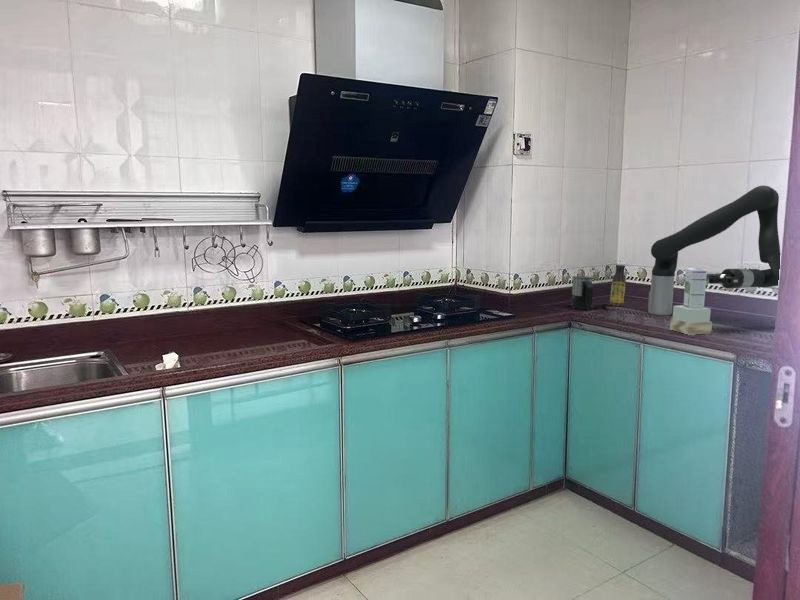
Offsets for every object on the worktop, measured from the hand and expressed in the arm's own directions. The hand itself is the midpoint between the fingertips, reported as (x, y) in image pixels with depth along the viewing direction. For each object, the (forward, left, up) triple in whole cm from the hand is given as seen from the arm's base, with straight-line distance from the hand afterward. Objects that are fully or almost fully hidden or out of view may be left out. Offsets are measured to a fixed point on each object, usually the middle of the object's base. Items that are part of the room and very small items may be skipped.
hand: (701, 279), depth 225 cm
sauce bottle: (-62, +7, -20) cm, 66 cm away
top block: (+1, -4, -15) cm, 16 cm away
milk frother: (-57, -10, -20) cm, 61 cm away
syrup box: (+1, -3, -11) cm, 11 cm away
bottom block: (+1, -4, -20) cm, 21 cm away
